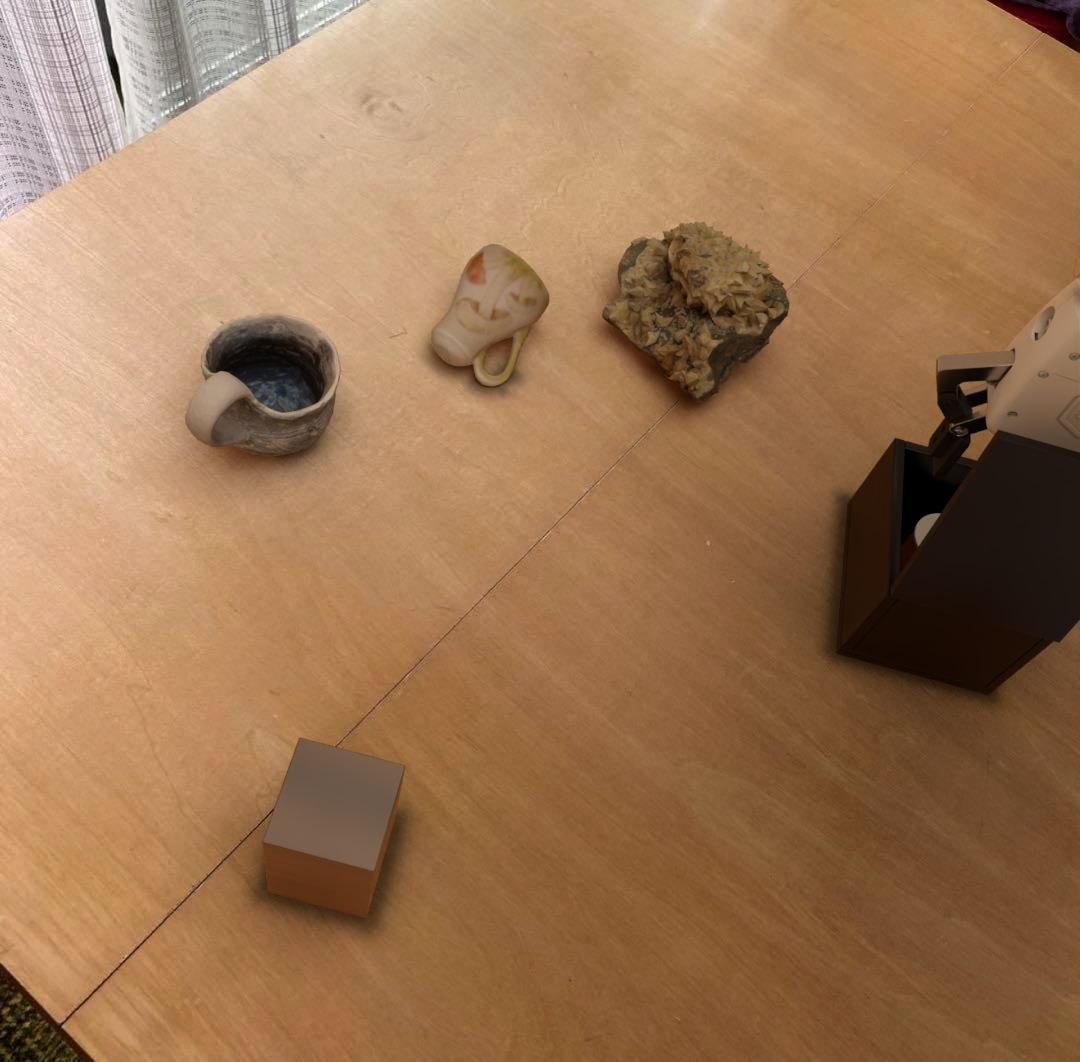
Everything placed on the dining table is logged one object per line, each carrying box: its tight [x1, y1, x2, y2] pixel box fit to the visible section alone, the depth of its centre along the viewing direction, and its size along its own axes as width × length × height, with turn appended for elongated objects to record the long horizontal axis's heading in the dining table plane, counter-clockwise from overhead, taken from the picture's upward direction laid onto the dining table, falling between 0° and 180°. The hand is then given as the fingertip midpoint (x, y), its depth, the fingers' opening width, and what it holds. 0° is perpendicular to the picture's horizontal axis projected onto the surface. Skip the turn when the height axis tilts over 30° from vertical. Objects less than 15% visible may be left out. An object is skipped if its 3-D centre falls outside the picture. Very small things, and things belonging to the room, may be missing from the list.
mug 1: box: [184, 312, 342, 458], centre depth 81 cm, size 10×12×10 cm
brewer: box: [836, 437, 1054, 695], centre depth 84 cm, size 14×12×9 cm
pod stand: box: [262, 737, 406, 919], centre depth 66 cm, size 6×6×10 cm
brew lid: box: [890, 430, 1080, 644], centre depth 71 cm, size 14×12×1 cm
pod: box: [899, 513, 940, 574], centre depth 86 cm, size 5×5×4 cm
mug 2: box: [430, 243, 550, 387], centre depth 91 cm, size 8×10×10 cm
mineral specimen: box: [601, 221, 791, 404], centre depth 93 cm, size 14×13×10 cm
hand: (1006, 479), depth 77 cm, fingers open, 9 cm apart
